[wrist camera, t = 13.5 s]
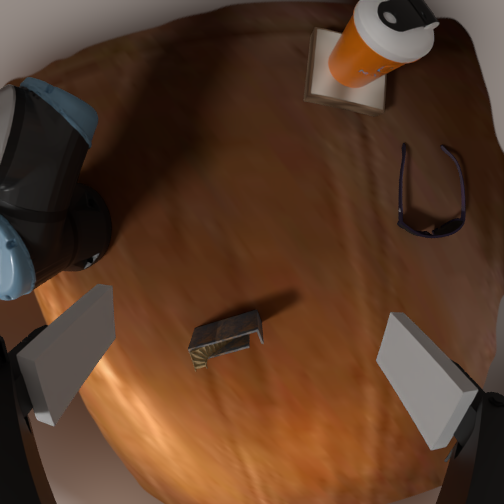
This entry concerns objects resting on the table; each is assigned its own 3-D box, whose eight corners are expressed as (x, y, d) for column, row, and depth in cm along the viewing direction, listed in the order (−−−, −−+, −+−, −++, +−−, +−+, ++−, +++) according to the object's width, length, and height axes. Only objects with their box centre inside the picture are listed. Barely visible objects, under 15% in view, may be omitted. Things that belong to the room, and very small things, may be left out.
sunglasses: (391, 236, 51) (403, 242, 46) (386, 142, 47) (399, 140, 42) (452, 230, 51) (467, 235, 46) (450, 145, 47) (465, 144, 42)
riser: (303, 101, 45) (308, 94, 41) (310, 36, 42) (315, 26, 38) (374, 116, 46) (385, 112, 41) (378, 53, 43) (388, 45, 39)
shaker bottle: (309, 58, 40) (347, -8, 20) (351, 32, 38) (404, -32, 19) (348, 104, 41) (411, 65, 22) (388, 76, 40) (461, 33, 21)
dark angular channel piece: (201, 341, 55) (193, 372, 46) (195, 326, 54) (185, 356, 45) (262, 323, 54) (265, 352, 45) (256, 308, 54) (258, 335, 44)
